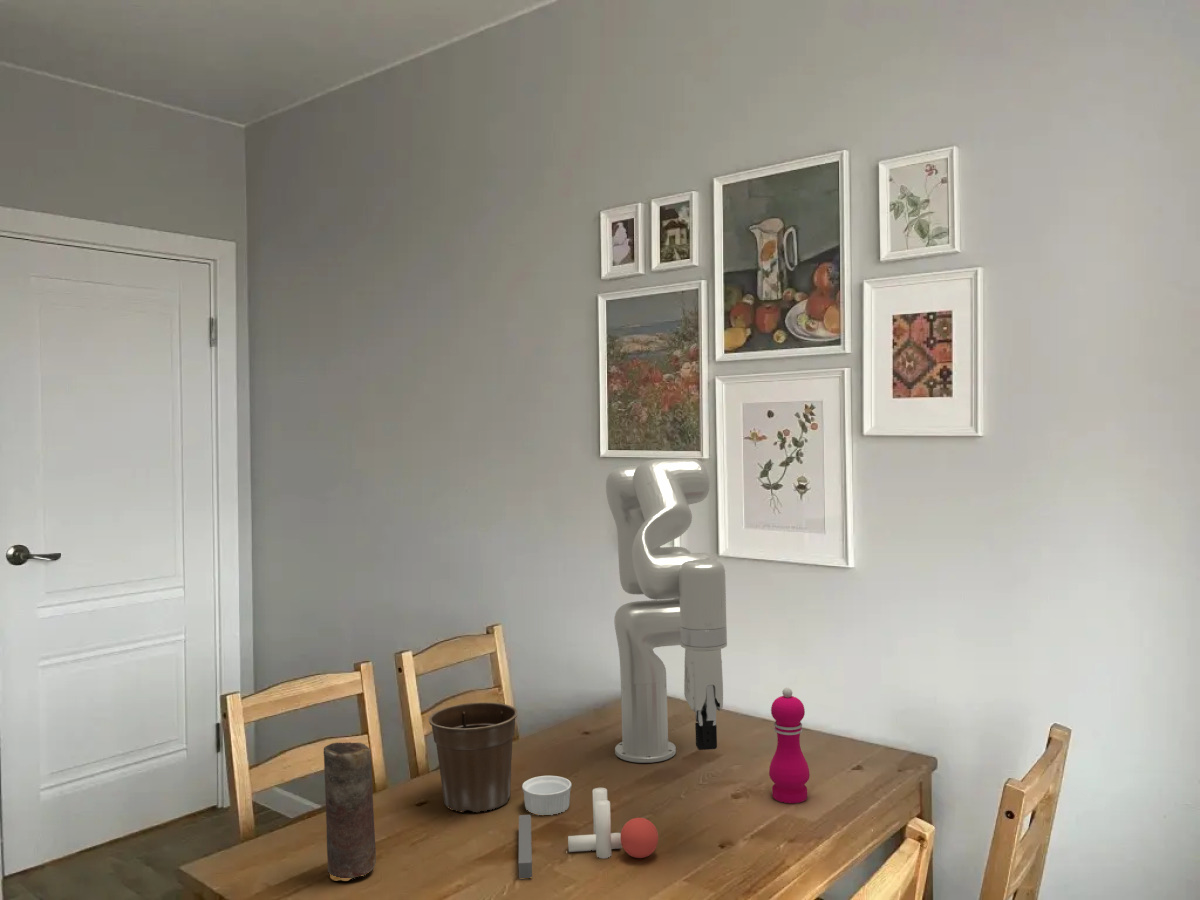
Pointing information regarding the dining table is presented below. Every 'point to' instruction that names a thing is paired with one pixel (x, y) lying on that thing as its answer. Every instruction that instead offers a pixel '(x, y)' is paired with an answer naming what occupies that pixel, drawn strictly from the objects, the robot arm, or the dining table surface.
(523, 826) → the gray square bar
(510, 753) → the plant pot
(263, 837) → the dining table surface
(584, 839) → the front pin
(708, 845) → the dining table surface
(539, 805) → the ramekin
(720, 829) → the dining table surface
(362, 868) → the candle
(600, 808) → the pin
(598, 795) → the pin
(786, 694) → the pepper mill
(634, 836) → the ball
